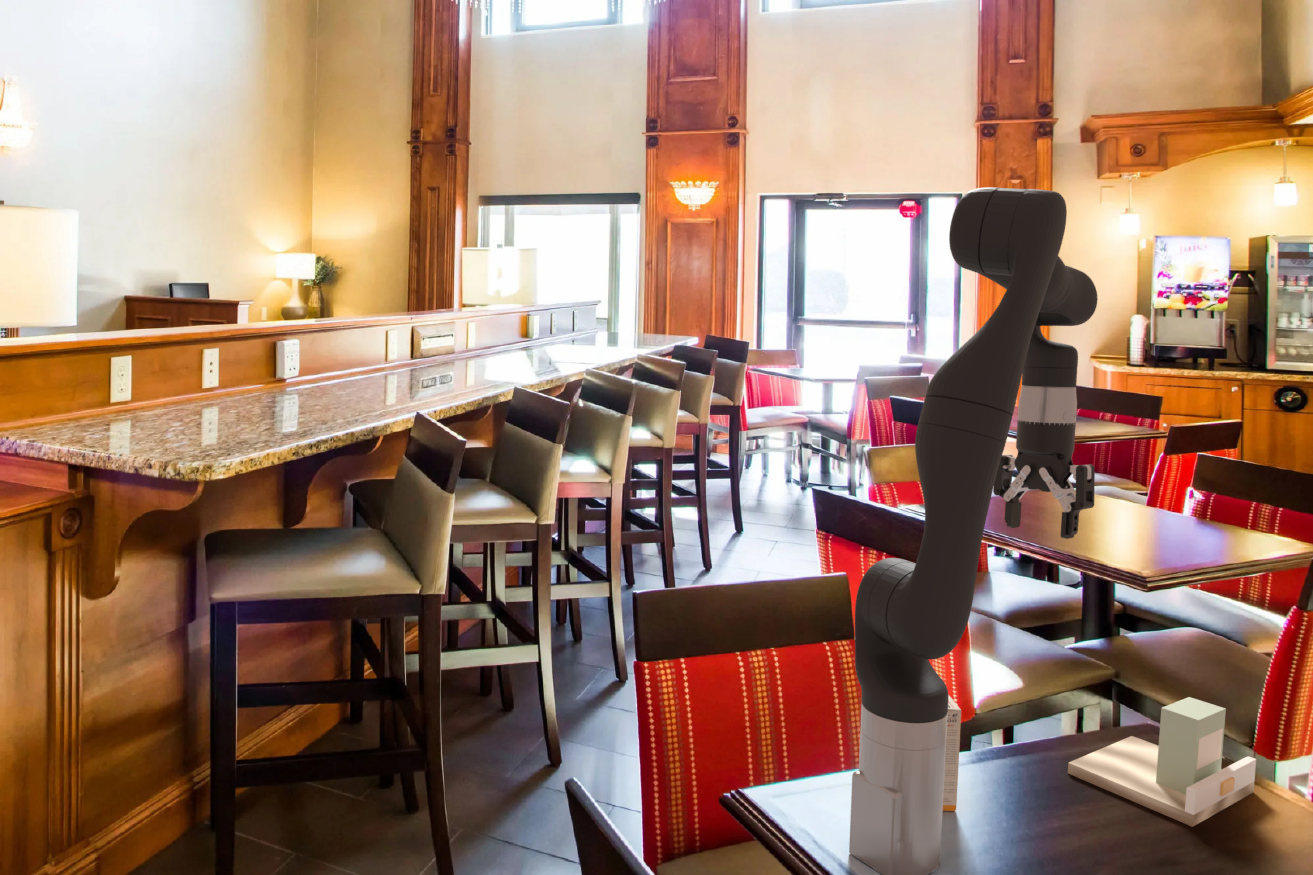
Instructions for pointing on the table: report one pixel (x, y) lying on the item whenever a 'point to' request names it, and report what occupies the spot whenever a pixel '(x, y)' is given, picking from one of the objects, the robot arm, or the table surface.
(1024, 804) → the table surface
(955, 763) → the supplement box
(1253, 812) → the table surface
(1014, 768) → the table surface
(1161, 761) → the carton
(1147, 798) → the shelf board
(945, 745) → the robot arm
